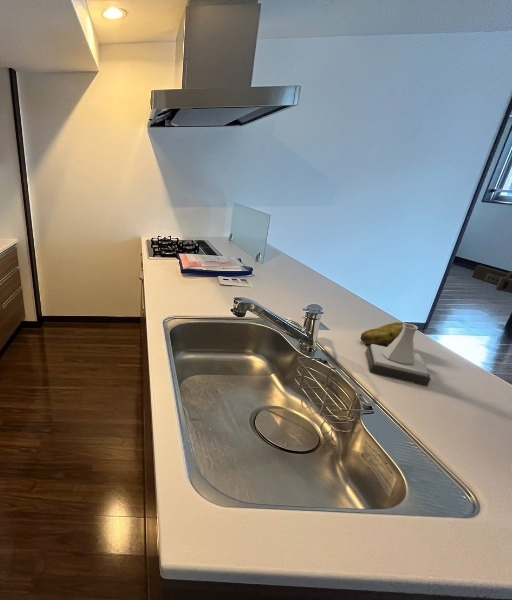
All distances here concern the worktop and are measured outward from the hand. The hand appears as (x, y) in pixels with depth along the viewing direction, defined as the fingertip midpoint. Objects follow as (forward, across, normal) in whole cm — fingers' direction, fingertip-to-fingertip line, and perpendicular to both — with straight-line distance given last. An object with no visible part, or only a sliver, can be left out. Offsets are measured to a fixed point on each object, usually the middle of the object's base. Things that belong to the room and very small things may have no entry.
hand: (508, 271), depth 69 cm
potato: (+22, 0, -32) cm, 39 cm away
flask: (+10, -6, -29) cm, 31 cm away
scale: (+10, -6, -32) cm, 34 cm away
